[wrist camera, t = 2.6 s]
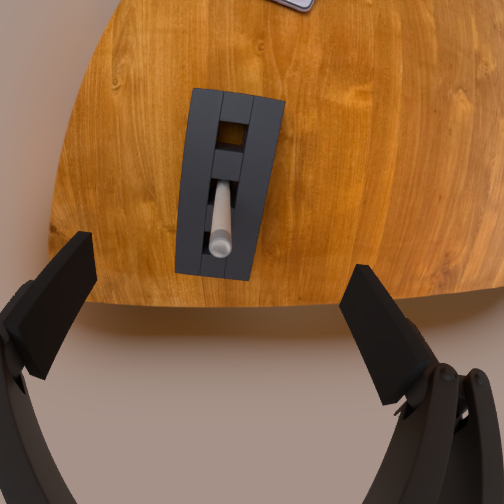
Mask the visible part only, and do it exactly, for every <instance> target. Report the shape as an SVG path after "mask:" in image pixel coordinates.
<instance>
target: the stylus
mask: <svg viewBox="0 0 504 504" xmlns="http://www.w3.org/2000/svg"><path fill="white" fill-rule="evenodd" d="M231 250H232V238H231V213H230V180H223V179H218V181H217V188H216V195H215V203H214V211H213V219H212V227H211V236H210V242H209V251H210V253H211V254H212V255H213V256H215V257H218V258H223V257H226V256H228V255H229V254H230V252H231Z"/></svg>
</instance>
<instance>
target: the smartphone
mask: <svg viewBox="0 0 504 504" xmlns="http://www.w3.org/2000/svg"><path fill="white" fill-rule="evenodd" d="M272 1H275V2H278V3H280V4H283V5H286V6H288V7H291V8H293V9H296V10H298V11H301V12H307V11H309V10H310V8H311V7H312V5H313V3H314V1H315V0H272Z"/></svg>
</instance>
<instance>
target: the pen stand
mask: <svg viewBox="0 0 504 504" xmlns="http://www.w3.org/2000/svg"><path fill="white" fill-rule="evenodd" d="M284 106H285V101H281V100H276V99H271V98H265V97H260V96H254V95H248V94H242V93H235V92H227V91H225V92H224V91H220V90H211V89H201V88H193V91H192V97H191V103H190V110H189V116H188V123H187V130H186V138H185V146H184V154H183V163H182V172H181V182H180V193H179V205H178V219H177V234H176V253H175V273H179V274H188V275H197V276H206V277H215V278H224V279H233V280H243V281H249V278H250V273H251V268H252V263H253V258H254V254H255V249H256V244H257V239H258V234H259V229H260V224H261V219H262V215H263V210H264V205H265V200H266V195H267V190H268V185H269V180H270V175H271V170H272V165H273V161H274V156H275V151H276V146H277V141H278V136H279V131H280V126H281V121H282V116H283V111H284ZM220 121H226V122H234V123H241V124H245V128H244V134H243V139H242V145H236V144H229V143H222V142H217V140H218V133H219V127H220ZM212 178H215V179H223V180H231V181H235V186H234V192H233V191H230V213H231V238H232V250H231V252H230V254H229V255H228V256H226V257H223V258H218V257H215V256H213V255H212V254H211V253H210V251H209V242H210V236H211V227H212V219H213V211H214V203H215V195H216V189H210V188H211V181H212ZM205 231H210V232H205Z"/></svg>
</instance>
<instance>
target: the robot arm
mask: <svg viewBox="0 0 504 504" xmlns="http://www.w3.org/2000/svg"><path fill="white" fill-rule="evenodd" d="M96 281H97V275H96V267H95V260H94V251H93V242H92V233H91V232H83V231H78V232H77V233H76V234H75V235H74V236H73V237H72V238H71V239H70V240H69V242H68V243H67V244H66V245H65V246H64V247H63V248H62V249H61V250H60V251H59V252H58V253H57V255H56V256H55V257H54V258H53V259H52V260H51V261H50V262H49V264H48V265H47V266H46V267H45V268H44V269H43V271H42V272H41V273H40V274H39V275H38V277H37V278H36V279H35V280H34V281H33V280H29V281H28V282H26V283H25V284H23V285H22V286H21V287H20V288H19V289H18V291H17V292H16V293H15V296H13V297H12V298H11V299H10V302H8V303H7V305H6V306H5V308H4V309H3V310H2V311H1V313H0V489H1V491H2V494H3V496H4V499H5V501H6V503H7V504H77V503H76V501H75V499H74V498H73V496H72V494H71V493H70V491H69V489H68V488H67V486H66V484H65V482H64V480H63V478H62V476H61V474H60V472H59V471H58V468H57V466H56V464H55V462H54V460H53V458H52V456H51V453H50V451H49V449H48V447H47V444H46V442H45V439H44V437H43V435H42V432H41V429H40V427H39V424H38V421H37V418H36V416H35V413H34V410H33V407H32V404H31V400H30V397H29V394H28V390H27V387H26V383H25V379H24V376H23V374H22V372H21V371H22V369H23V367H24V365H25V367H26V369H27V370H28V372H29V374H30V375H32V376H35V377H37V378H40V379H43V380H45V379H46V376H47V374H48V372H49V370H50V368H51V365H52V363H53V361H54V359H55V357H56V355H57V353H58V351H59V349H60V347H61V345H62V343H63V341H64V338H65V337H66V335H67V333H68V330H69V329H70V327H71V325H72V323H73V322H74V320H75V318H76V316H77V314H78V312H79V311H80V309H81V307H82V305H83V303H84V302H85V300H86V298H87V297H88V295H89V293H90V291H91V290H92V288H93V286H94V285H95V283H96ZM339 307H340V309H341V311H342V313H343V315H344V318H345V320H346V322H347V324H348V326H349V328H350V331H351V333H352V335H353V337H354V339H355V341H356V344H357V346H358V348H359V350H360V353H361V355H362V357H363V359H364V362H365V364H366V366H367V368H368V371H369V373H370V375H371V378H372V380H373V383H374V385H375V388H376V390H377V392H378V395H379V397H380V400H381V402H382V404H383V405H389V404H394V403H397V402H398V401H399V400H400V399H401V398H402V397H403V396H404V395H405V396H406V399H407V401H406V402H405V403H404V404H403V405H402V406H401V407H400V408H399V409H398V410H397V411H396V412H395V414H394V416H396V415H397V414H398V413H399V412H401V413H400V416H399V419H398V422H397V425H396V428H395V431H394V433H393V436H392V439H391V441H390V444H389V447H388V449H387V452H386V454H385V456H384V459H383V461H382V464H381V466H380V468H379V470H378V473H377V475H376V477H375V479H374V481H373V483H372V485H371V488H370V489H369V492H368V493H367V495H366V497H365V499H364V501H363V503H362V504H504V468H503V455H502V446H501V438H500V431H499V424H498V419H497V413H496V408H495V404H494V399H493V395H492V390H491V386H490V382H489V380H488V377H487V376H486V374H485V373H484V372H483V371H482V370H480V369H477V368H474V369H472V370H471V371H470V372H469V373H468V374H467V376H462V375H458V374H457V372H456V371H455V369H454V368H453V367H451V366H450V365H448V364H445V363H439V362H438V360H437V358H436V357H435V355H434V353H433V352H432V350H431V349H430V347H429V345H428V344H427V342H425V339H424V338H423V336H422V335H421V333H420V331H419V330H418V328H417V327H416V325H415V324H413V323H412V322H411V321H410V320H409V319H408V318H405V317H404V315H403V313H402V312H401V310H400V309H399V307H398V306H397V304H396V303H395V302H394V300H393V299H392V297H391V296H390V294H389V293H388V292H387V290H386V289H385V287H384V286H383V285H382V283H381V282H380V280H379V279H378V278H377V276H376V275H375V274H374V272H373V271H372V269H371V268H370V267H369V265H361V264H356V266H355V268H354V271H353V274H352V276H351V279H350V281H349V283H348V286H347V288H346V291H345V293H344V295H343V298H342V300H341V302H340V305H339ZM467 409H468V413H469V415H468V416H467V417H466V418H464V419H463V417H462V414H463V413H464V412H465V411H466V410H467Z"/></svg>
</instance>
